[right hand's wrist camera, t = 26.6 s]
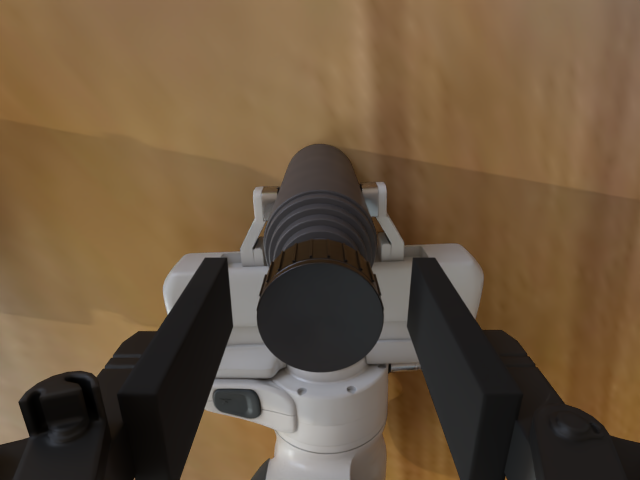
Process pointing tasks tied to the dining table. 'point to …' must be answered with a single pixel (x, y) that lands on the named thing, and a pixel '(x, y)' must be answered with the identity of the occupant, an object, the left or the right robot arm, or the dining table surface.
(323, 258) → the cap
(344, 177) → the bottle
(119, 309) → the dining table surface
